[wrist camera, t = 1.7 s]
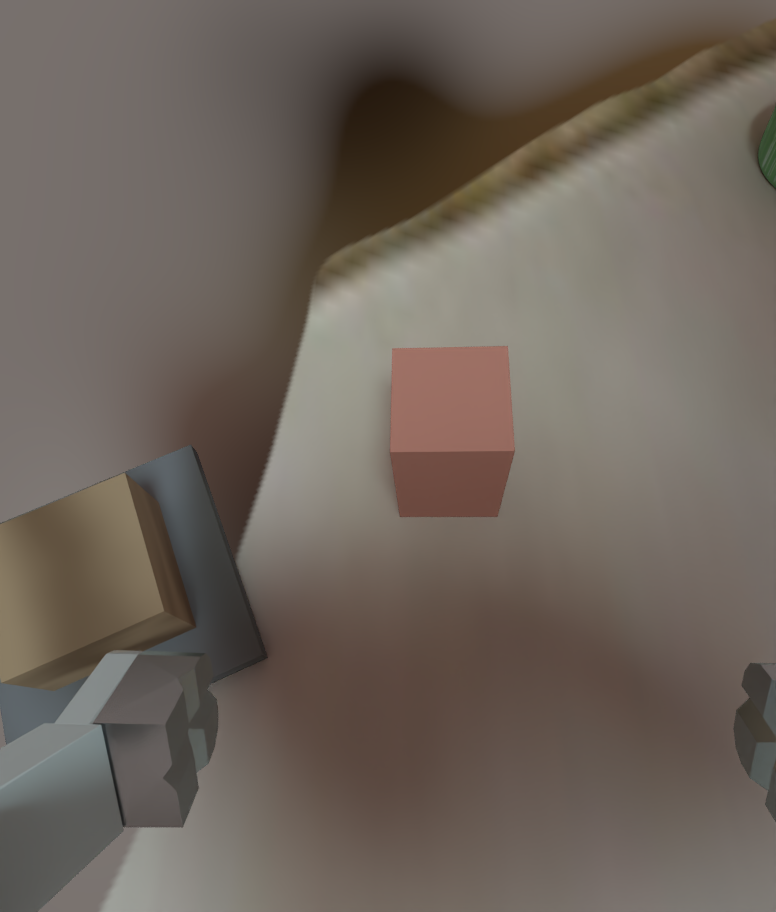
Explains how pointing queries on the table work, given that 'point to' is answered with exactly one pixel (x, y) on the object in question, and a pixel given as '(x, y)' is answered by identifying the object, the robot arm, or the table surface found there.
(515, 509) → the table surface
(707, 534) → the table surface
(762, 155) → the ramekin
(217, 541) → the tower base
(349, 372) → the table surface
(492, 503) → the red block
